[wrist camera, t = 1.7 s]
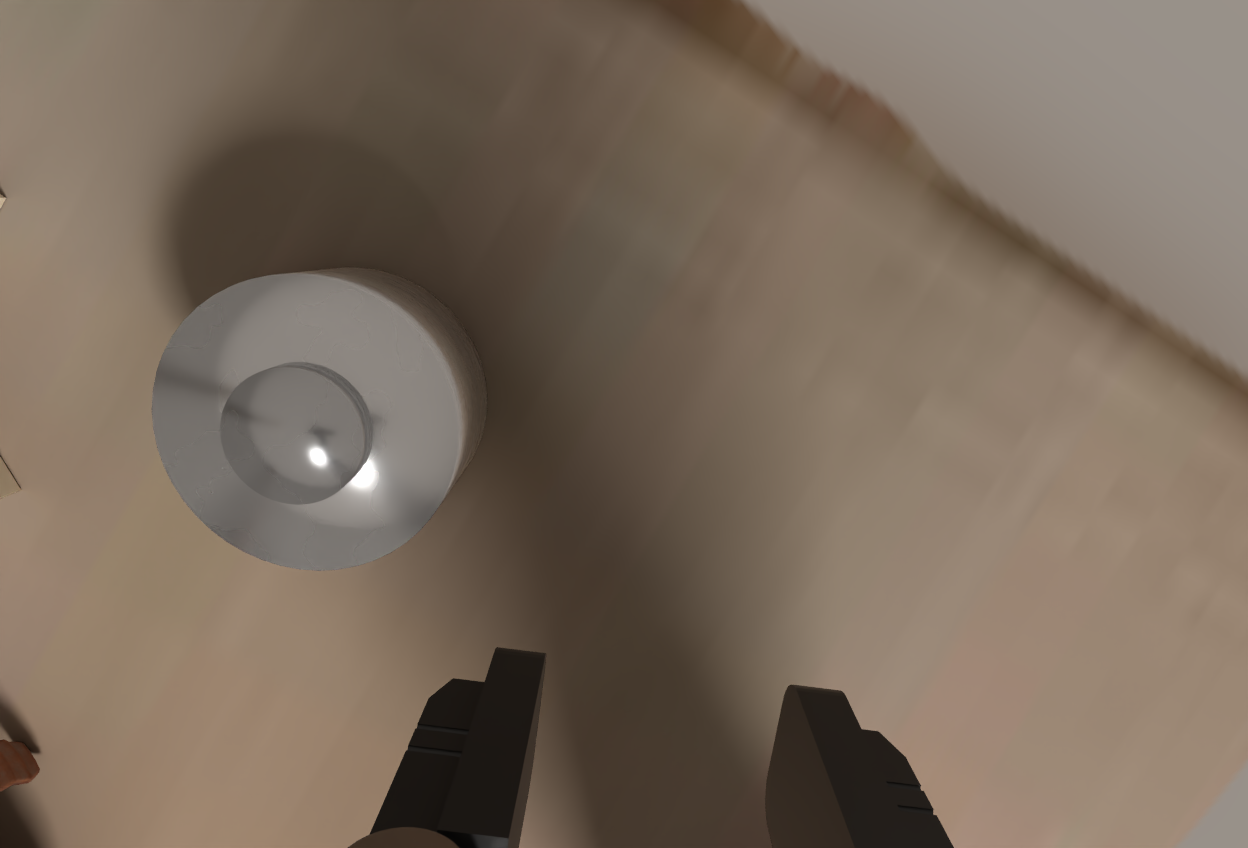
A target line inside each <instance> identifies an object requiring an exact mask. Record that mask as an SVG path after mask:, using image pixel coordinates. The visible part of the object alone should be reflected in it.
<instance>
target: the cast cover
mask: <svg viewBox="0 0 1248 848" xmlns="http://www.w3.org/2000/svg"><path fill="white" fill-rule="evenodd" d="M486 415H487V388H486V379H485V375H484V371H483V367H482V363H481V361H480V358H479V355H478V353H477V350H476V348H475V346H474V344H473V342H472V340H471V338H470V337H469V335H468V333H467V332H466V330H465V329H464V327H463V326H462V324H461V323H460V322H459V320H458V319H457V318H456V317H455V316H454V315H453V313H452V312H451V311H450V310H449V309H448V308H447V307H446V306H445V305H444V304H443V303H441V302H440V301H439V300H438V299H437V298H436V297H434V296H433V295H432V294H430V293H429V292H427V291H426V290H424V289H423V288H421V287H420V286H418V285H416V284H414V283H412V282H410V281H408V280H406V279H404V278H402V277H399V276H396V275H393V274H390V273H387V272H384V271H379V270H374V269H369V268H356V267H346V268H332V269H322V270H313V271H303V272H294V273H284V274H275V275H268V276H263V277H258V278H253V279H249V280H246V281H243V282H240V283H237V284H235V285H232V286H230V287H228V288H226V289H224V290H222V291H220V292H218V293H216V294H215V295H213V296H211V297H210V298H209V299H207V300H206V301H205V302H203V303H202V304H201V305H199V306H198V307H197V308H196V309H195V310H194V311H193V312H192V313H191V314H190V315H189V316H188V317H187V318H186V319H185V320H184V321H183V322H182V323H181V325H180V326H179V327H178V329H177V330H176V332H175V333H174V334H173V336H172V337H171V339H170V341H169V343H168V345H167V347H166V349H165V350H164V352H163V355H162V358H161V360H160V363H159V366H158V369H157V372H156V377H155V382H154V387H153V398H152V417H153V429H154V434H155V439H156V443H157V448H158V451H159V454H160V456H161V459H162V462H163V465H164V467H165V469H166V471H167V474H168V476H169V478H170V480H171V482H172V484H173V485H174V487H175V488H176V490H177V491H178V493H179V494H180V496H181V497H182V499H183V501H184V502H185V503H186V504H187V505H188V507H189V508H190V509H191V510H192V511H193V513H194V514H195V515H196V516H197V517H198V518H199V519H200V520H201V521H202V522H203V523H204V524H205V525H206V526H207V527H208V528H210V529H211V530H212V531H213V532H214V533H216V534H217V535H218V536H220V537H221V538H222V539H224V540H225V541H226V542H228V543H230V544H231V545H233V546H235V547H237V548H238V549H240V550H242V551H243V552H245V553H248V554H250V555H252V556H254V557H257V558H259V559H261V560H264V561H267V562H270V563H274V564H277V565H280V566H285V567H290V568H296V569H303V570H318V571H321V570H338V569H344V568H349V567H355V566H358V565H362V564H365V563H368V562H371V561H374V560H376V559H378V558H380V557H383V556H385V555H387V554H389V553H391V552H392V551H394V550H396V549H397V548H399V547H400V546H402V545H403V544H405V543H406V542H407V541H409V540H410V539H411V538H412V537H413V536H414V535H415V534H417V533H418V532H419V531H420V530H421V529H422V528H423V526H424V525H425V524H426V523H427V522H428V521H429V520H430V518H431V517H432V516H433V514H434V513H435V512H436V510H437V509H438V507H439V506H440V505H441V503H442V502H443V500H444V499H445V497H446V496H447V495H448V493H449V492H450V490H451V489H452V487H453V486H454V485H455V483H456V482H457V480H458V479H459V478H460V476H461V475H462V473H463V472H464V470H465V469H466V467H467V466H468V464H469V463H470V461H471V460H472V458H473V456H474V454H475V452H476V450H477V448H478V446H479V444H480V441H481V437H482V434H483V431H484V427H485V421H486Z"/></svg>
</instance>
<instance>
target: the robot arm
mask: <svg viewBox="0 0 1248 848" xmlns="http://www.w3.org/2000/svg"><path fill="white" fill-rule="evenodd" d="M545 663H546V653H538V652H530V651H522V650H514V649H506V648H498V647H497V648H496V649H495V652H494V655H493V658H492V661H491V664H490V667H489V670H488V673H487V677H486V680H485V682H478V681H470V680H462V679H454V678H453V679H452V680H451V681H449V682H448V683H447V684H446V685H444V686H443V687H442V688H441V689H439V690H438V691H437V692H436V693H435V694H433V695H432V696H431V697H430V698H429V699H428V701H427V704H426V706H425V708H424V710H423V713H422V715H421V717H420V720H419V722H418V726H417V729H415V731H414V733H413V736H412V738H411V740H410V743H409V745H408V750H407V751H406V752H405V754H404V756H403V759H402V761H401V763H400V766H399V768H398V770H397V773H396V775H395V777H394V780H393V782H392V784H391V786H390V789H389V791H388V793H387V796H386V798H385V800H384V803H383V805H382V807H381V809H380V812H379V814H378V816H377V819H376V821H375V823H374V826H373V828H372V830H371V832H370V835H368V836H366V837H364V838H362V839H360V840H358V841H356V842H355V843H354V844H352V845H351V846H349V847H348V848H519V842H520V837H521V831H522V826H523V820H524V815H525V809H526V804H527V798H528V792H529V786H530V780H531V773H532V767H533V760H534V752H535V744H536V736H537V728H538V720H539V712H540V704H541V696H542V688H543V680H544V672H545ZM920 787H921V785H920V783H919V781H918V780H917V778H916V776H915V774H914V772H913V770H912V768H911V766H910V765H909V763H908V761H907V759H906V757H905V756H904V755H903V754H902V753H901V752H900V751H898V750H897V749H896V748H895V747H894V746H893V745H892V744H891V743H890V742H889V741H888V740H887V739H886V738H885V737H884V736H883V735H882V734H881V733H879V732H878V731H871V730H862V729H861V727H860V725H859V723H858V721H857V719H856V717H855V715H854V712H853V710H852V708H851V706H850V704H849V702H848V700H847V698H846V696H845V694H844V693H843V692H842V691H839V690H831V689H823V688H815V687H807V686H799V685H790V686H788V688H787V690H786V692H785V695H784V699H783V703H782V708H781V713H780V718H779V723H778V727H777V732H776V737H775V742H774V747H773V752H772V756H771V761H770V766H769V771H768V776H767V783H766V798H765V805H766V819H767V825H768V830H769V834H770V838H771V843H772V847H773V848H954V847H953V845H952V843H951V842H950V840H949V838H948V836H947V834H946V832H945V830H944V828H943V827H942V825H941V823H940V821H939V819H938V817H937V815H933V808H932V806H931V804H930V802H929V800H928V798H927V796H926V795H925V793H924V791H921V789H920Z"/></svg>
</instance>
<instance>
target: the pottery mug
mask: <svg viewBox="0 0 1248 848" xmlns="http://www.w3.org/2000/svg"><path fill="white" fill-rule="evenodd" d="M39 770H40V769H39V766H38V764H37V762H36V760H35V759H34V757H33V755H32V754H31V752H30V750H29V749H28V748H27V747H26V746H25V745H24V743H22V742H8V741H6V740H0V792H1V791H3V790H5V789H6V788H8V787H10V786H12V785H19V784H24V783H29V782H31V781H32V780H33V779H34V778H35V776H36V775H37V774H38V773H39Z"/></svg>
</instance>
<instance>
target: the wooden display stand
mask: <svg viewBox="0 0 1248 848" xmlns="http://www.w3.org/2000/svg"><path fill="white" fill-rule="evenodd" d="M5 199H6V198H5V197H4V196H3V195H1V194H0V208H1V206H2V205H3V203H4V201H5ZM20 490H21V489H20V487H19V486H18V484H17V483H16V481H15V479H14V478H13V476H12V475H11V473H10V471H9V470H8V468H7V466H6V465H5V463H4V462H3V460H2V458H1V457H0V499H1V498H3V497H6V496H8V495H10V494H13V493H15V492H18V491H20Z"/></svg>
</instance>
